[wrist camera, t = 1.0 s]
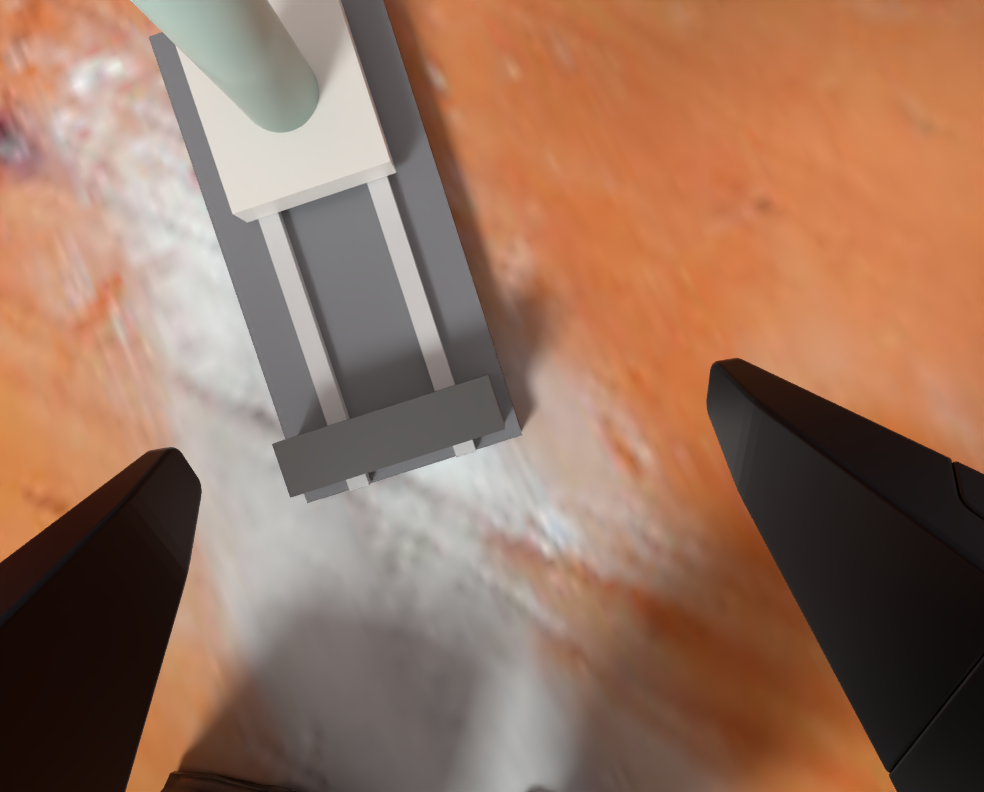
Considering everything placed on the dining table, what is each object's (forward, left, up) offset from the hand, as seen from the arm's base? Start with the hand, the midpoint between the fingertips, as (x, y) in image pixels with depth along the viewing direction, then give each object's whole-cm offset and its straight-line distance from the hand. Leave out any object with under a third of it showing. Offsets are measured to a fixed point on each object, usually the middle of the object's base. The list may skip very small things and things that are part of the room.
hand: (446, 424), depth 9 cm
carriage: (+7, +11, -12) cm, 18 cm away
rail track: (+3, +7, -14) cm, 16 cm away
